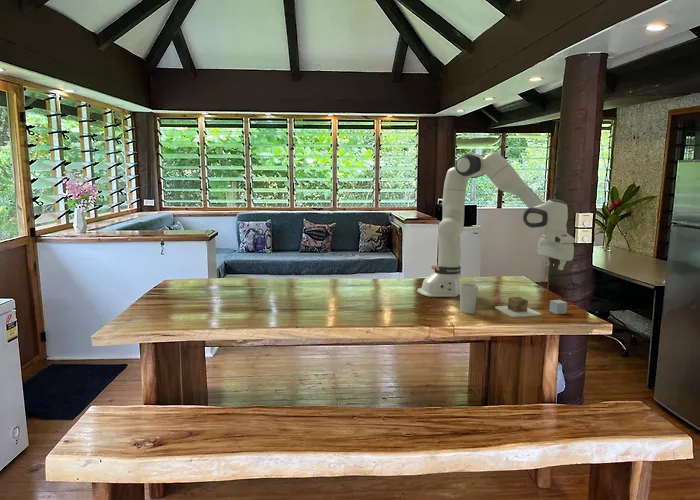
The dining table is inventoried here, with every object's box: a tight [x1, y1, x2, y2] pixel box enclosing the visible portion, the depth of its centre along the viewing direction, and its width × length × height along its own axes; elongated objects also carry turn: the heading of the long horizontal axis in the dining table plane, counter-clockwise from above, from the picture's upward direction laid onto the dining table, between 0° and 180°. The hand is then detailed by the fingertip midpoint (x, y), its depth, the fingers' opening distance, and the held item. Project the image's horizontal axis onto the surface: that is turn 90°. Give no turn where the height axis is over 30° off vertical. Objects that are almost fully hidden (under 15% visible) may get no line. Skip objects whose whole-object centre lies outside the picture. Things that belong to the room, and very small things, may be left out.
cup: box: [459, 282, 479, 314], centre depth 213 cm, size 8×8×12 cm
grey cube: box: [548, 299, 568, 315], centre depth 215 cm, size 5×5×5 cm
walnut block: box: [507, 296, 529, 312], centre depth 214 cm, size 6×6×5 cm
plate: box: [494, 305, 542, 318], centre depth 215 cm, size 14×14×1 cm
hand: (553, 267), depth 211 cm, fingers open, 8 cm apart
